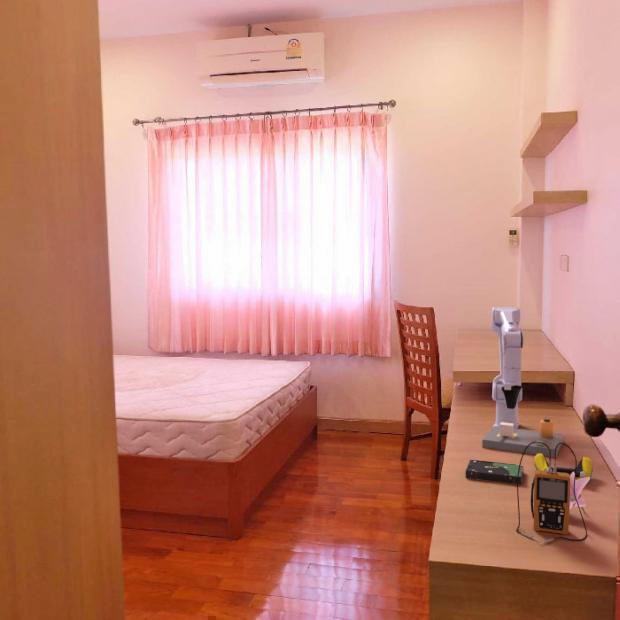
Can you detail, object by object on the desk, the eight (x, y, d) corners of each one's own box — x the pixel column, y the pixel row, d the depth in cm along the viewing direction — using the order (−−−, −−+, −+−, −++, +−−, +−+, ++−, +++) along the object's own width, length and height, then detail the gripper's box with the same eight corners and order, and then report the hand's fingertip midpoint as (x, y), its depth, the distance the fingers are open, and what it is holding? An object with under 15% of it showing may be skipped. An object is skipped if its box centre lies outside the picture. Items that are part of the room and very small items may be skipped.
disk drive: (465, 480, 168) (522, 486, 163) (465, 470, 168) (522, 476, 163) (469, 468, 178) (523, 473, 172) (469, 459, 177) (523, 464, 172)
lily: (551, 504, 153) (536, 474, 150) (599, 492, 148) (585, 461, 146) (557, 539, 142) (542, 507, 139) (610, 527, 137) (595, 494, 135)
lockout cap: (540, 434, 201) (541, 417, 200) (553, 435, 199) (554, 418, 198) (538, 437, 197) (539, 420, 197) (552, 438, 195) (552, 421, 195)
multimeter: (514, 542, 130) (517, 450, 128) (516, 523, 139) (518, 437, 138) (590, 553, 125) (593, 458, 123) (586, 533, 134) (589, 444, 133)
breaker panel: (494, 432, 211) (494, 422, 211) (562, 441, 200) (563, 430, 200) (482, 447, 195) (482, 435, 195) (555, 457, 185) (556, 445, 184)
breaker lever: (501, 432, 201) (501, 422, 201) (513, 434, 199) (513, 423, 199) (499, 435, 198) (499, 424, 198) (511, 436, 196) (512, 425, 196)
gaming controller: (533, 470, 174) (535, 482, 165) (533, 451, 174) (536, 462, 164) (590, 475, 170) (596, 488, 161) (591, 455, 170) (597, 467, 160)
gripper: (504, 363, 211) (503, 402, 212) (495, 369, 198) (494, 410, 199) (525, 365, 208) (524, 404, 209) (517, 371, 195) (516, 413, 196)
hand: (511, 407), depth 204 cm, fingers closed
